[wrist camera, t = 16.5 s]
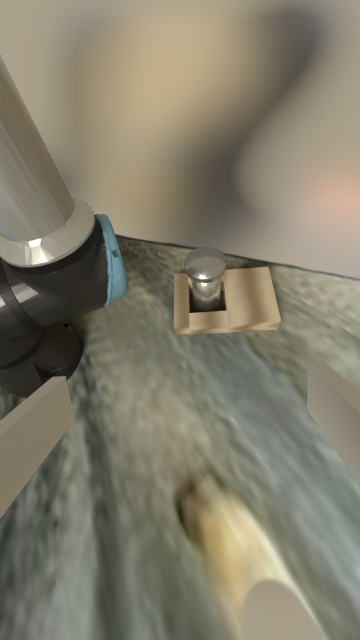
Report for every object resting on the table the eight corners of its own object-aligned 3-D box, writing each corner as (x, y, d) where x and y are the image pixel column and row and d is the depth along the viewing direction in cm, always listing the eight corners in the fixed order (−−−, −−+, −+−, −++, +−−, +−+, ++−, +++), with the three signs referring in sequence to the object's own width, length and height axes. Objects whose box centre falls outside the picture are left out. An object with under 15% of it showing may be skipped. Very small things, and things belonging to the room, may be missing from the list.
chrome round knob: (191, 321, 51) (184, 279, 41) (190, 293, 54) (184, 248, 44) (225, 319, 50) (228, 276, 40) (222, 291, 54) (224, 245, 43)
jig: (176, 335, 50) (173, 327, 47) (176, 283, 56) (174, 274, 53) (277, 329, 48) (281, 320, 45) (266, 276, 54) (268, 266, 52)
